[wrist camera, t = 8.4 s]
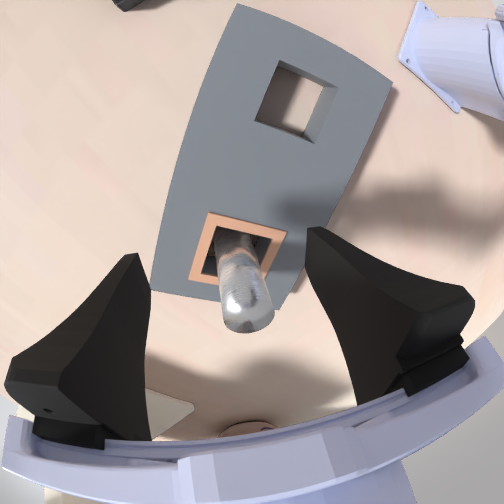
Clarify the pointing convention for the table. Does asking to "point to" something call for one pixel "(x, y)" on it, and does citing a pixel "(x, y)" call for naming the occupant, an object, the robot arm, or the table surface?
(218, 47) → the dock plate
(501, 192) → the table surface
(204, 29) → the table surface
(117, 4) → the disk drive
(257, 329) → the steel pin
